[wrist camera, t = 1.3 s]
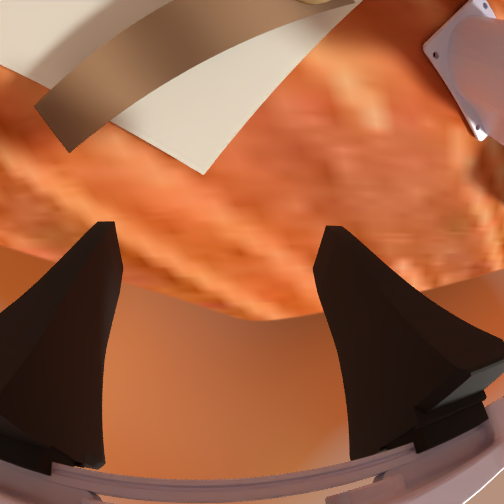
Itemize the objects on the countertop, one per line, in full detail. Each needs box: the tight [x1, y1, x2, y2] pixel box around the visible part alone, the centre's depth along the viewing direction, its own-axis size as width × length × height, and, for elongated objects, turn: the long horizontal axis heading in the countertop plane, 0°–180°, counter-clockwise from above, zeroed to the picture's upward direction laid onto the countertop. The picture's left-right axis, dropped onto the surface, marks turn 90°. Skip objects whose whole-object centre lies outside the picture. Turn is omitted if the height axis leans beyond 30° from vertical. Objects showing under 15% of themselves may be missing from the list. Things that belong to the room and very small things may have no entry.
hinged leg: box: [34, 0, 355, 153], centre depth 10 cm, size 14×3×4 cm, turn 116°
